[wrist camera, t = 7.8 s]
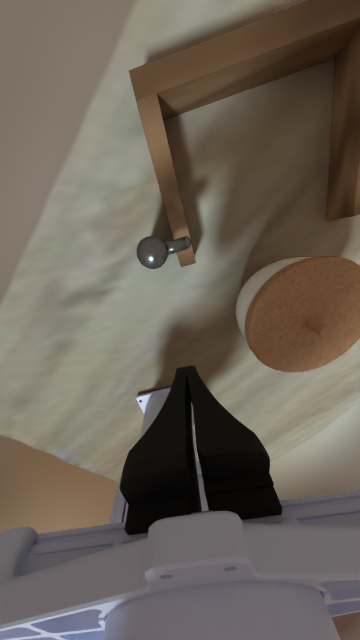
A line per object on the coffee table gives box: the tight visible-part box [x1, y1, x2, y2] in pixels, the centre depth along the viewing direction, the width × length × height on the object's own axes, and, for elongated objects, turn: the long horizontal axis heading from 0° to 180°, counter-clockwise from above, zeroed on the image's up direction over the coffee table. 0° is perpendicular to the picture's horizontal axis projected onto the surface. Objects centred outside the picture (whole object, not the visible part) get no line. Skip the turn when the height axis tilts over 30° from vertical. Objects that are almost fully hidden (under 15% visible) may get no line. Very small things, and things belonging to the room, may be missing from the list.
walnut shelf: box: [129, 0, 360, 267], centre depth 15 cm, size 14×18×3 cm
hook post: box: [137, 236, 192, 269], centre depth 16 cm, size 2×4×6 cm, turn 106°
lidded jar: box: [236, 256, 360, 372], centre depth 18 cm, size 11×11×9 cm
